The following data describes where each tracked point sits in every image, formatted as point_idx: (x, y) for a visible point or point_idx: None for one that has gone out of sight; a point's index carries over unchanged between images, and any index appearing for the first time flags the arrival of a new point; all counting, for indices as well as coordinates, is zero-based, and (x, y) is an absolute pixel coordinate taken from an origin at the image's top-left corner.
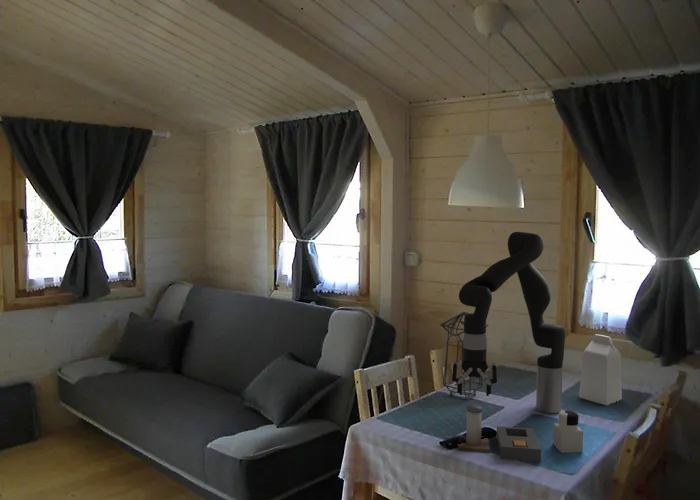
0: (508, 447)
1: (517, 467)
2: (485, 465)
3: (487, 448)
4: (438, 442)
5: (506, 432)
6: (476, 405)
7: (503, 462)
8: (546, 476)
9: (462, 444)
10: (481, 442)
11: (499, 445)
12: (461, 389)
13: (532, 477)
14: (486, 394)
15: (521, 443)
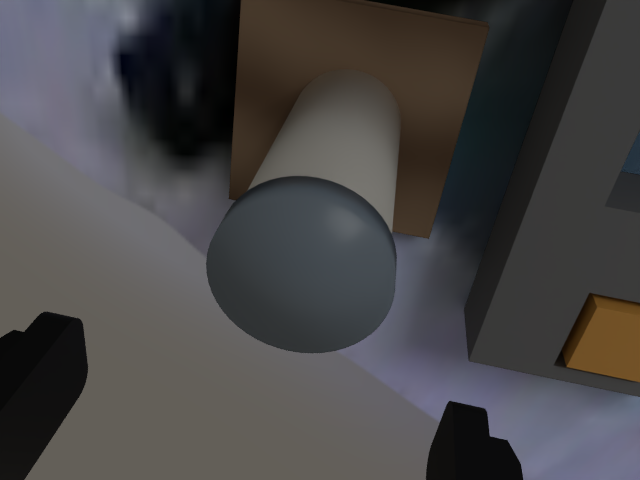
0: (514, 370)
1: (516, 391)
2: (356, 359)
3: (417, 224)
4: (108, 62)
5: (631, 144)
6: (331, 248)
7: (464, 341)
8: (616, 469)
9: (261, 158)
10: (403, 131)
11: (497, 251)
12: (34, 447)
13: (542, 468)
14: (436, 442)
15: (628, 354)
